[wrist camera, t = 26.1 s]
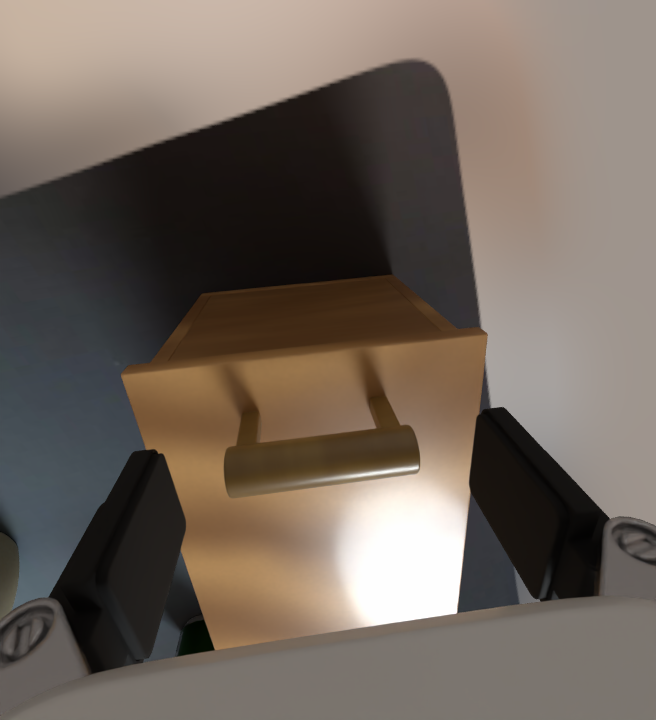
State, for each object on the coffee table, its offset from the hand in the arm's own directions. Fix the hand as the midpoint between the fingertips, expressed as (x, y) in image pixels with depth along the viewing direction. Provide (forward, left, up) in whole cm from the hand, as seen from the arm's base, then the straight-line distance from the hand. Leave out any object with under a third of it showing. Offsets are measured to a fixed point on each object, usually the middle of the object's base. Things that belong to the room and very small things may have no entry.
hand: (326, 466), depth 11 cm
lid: (+7, 0, -5) cm, 8 cm away
